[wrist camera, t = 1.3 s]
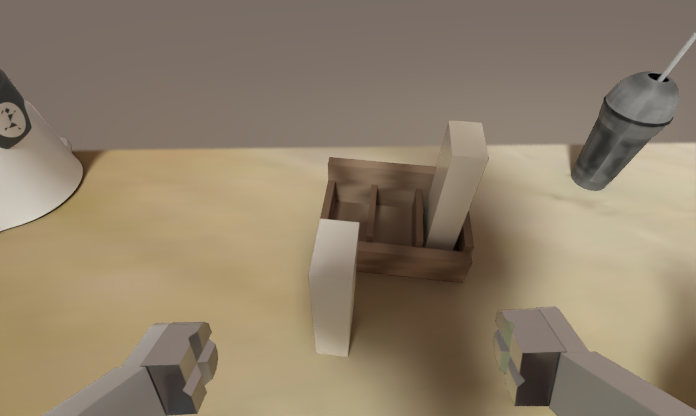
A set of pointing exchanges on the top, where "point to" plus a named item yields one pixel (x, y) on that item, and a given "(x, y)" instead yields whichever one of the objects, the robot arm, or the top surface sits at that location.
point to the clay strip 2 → (454, 183)
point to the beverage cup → (627, 124)
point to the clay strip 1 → (333, 285)
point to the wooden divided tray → (392, 219)
